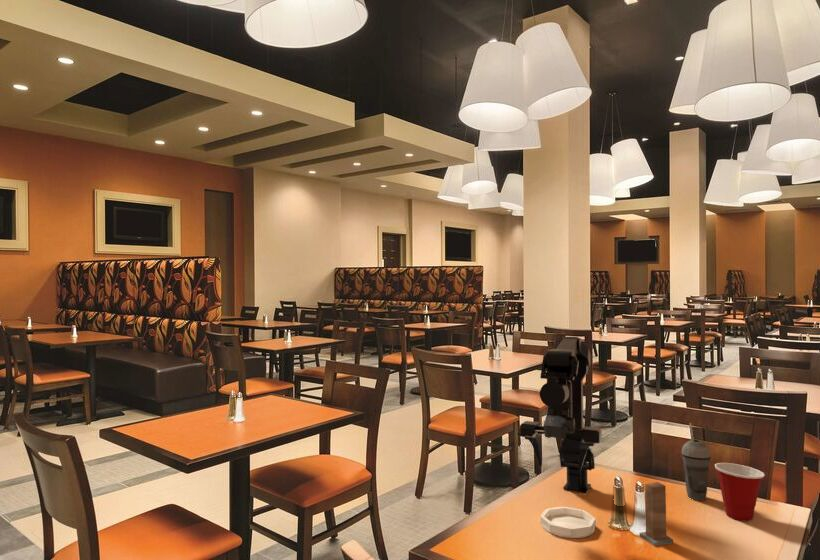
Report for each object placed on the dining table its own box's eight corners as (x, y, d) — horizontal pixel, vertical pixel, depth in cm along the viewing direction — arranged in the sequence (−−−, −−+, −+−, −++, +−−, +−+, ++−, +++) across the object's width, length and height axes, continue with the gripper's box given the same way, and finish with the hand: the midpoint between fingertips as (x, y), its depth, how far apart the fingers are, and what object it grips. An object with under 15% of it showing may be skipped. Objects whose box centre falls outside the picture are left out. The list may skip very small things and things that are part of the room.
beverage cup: (709, 505, 144) (707, 428, 144) (679, 499, 149) (677, 424, 149) (714, 496, 150) (712, 423, 150) (684, 490, 154) (683, 419, 154)
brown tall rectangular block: (639, 536, 127) (638, 482, 127) (657, 533, 129) (656, 479, 129) (654, 546, 123) (653, 489, 123) (673, 543, 124) (672, 487, 124)
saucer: (549, 511, 141) (549, 503, 142) (599, 521, 135) (599, 512, 135) (535, 531, 131) (534, 521, 131) (588, 542, 125) (588, 532, 125)
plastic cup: (776, 523, 133) (775, 474, 133) (735, 527, 131) (734, 476, 131) (743, 505, 143) (742, 459, 143) (705, 508, 142) (704, 462, 142)
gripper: (513, 403, 130) (513, 470, 129) (596, 409, 123) (596, 481, 121) (524, 398, 141) (524, 460, 139) (601, 403, 133) (602, 470, 131)
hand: (559, 468), depth 133 cm, fingers open, 9 cm apart
